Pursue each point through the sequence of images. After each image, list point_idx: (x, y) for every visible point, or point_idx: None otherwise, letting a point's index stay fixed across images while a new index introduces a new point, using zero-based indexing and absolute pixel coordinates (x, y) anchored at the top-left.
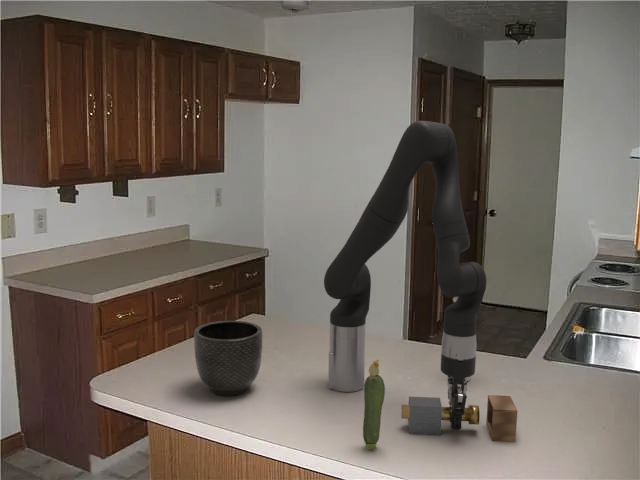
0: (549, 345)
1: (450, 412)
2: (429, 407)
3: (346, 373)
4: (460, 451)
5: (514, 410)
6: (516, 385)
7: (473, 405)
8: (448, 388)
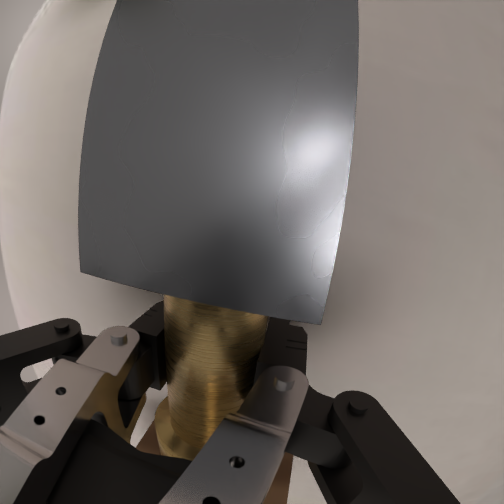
0: None
1: (165, 331)
2: (86, 149)
3: None
4: (74, 270)
5: None
6: (485, 486)
7: None
8: (171, 494)
